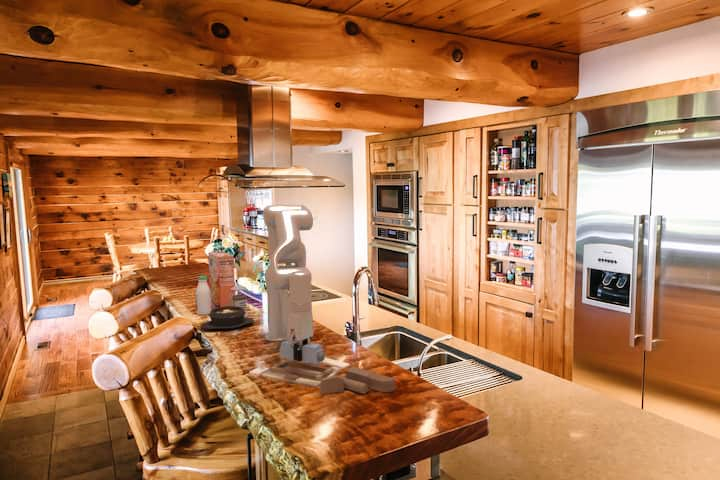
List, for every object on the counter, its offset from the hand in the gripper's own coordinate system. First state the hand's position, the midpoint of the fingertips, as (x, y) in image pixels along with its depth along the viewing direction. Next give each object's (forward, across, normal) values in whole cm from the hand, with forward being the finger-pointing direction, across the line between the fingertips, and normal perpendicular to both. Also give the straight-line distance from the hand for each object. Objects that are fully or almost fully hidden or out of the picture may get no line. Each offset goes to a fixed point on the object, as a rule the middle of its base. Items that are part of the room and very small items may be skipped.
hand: (301, 358), depth 169 cm
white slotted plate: (+6, +5, -15) cm, 17 cm away
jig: (+6, 0, 0) cm, 6 cm away
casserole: (+6, -36, -66) cm, 76 cm away
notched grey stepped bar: (0, 0, 0) cm, 0 cm away
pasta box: (+5, -65, -96) cm, 116 cm away
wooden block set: (+7, +5, +24) cm, 26 cm away
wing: (+6, -14, +3) cm, 16 cm away
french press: (+5, -56, -77) cm, 96 cm away
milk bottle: (+5, -50, -95) cm, 108 cm away
